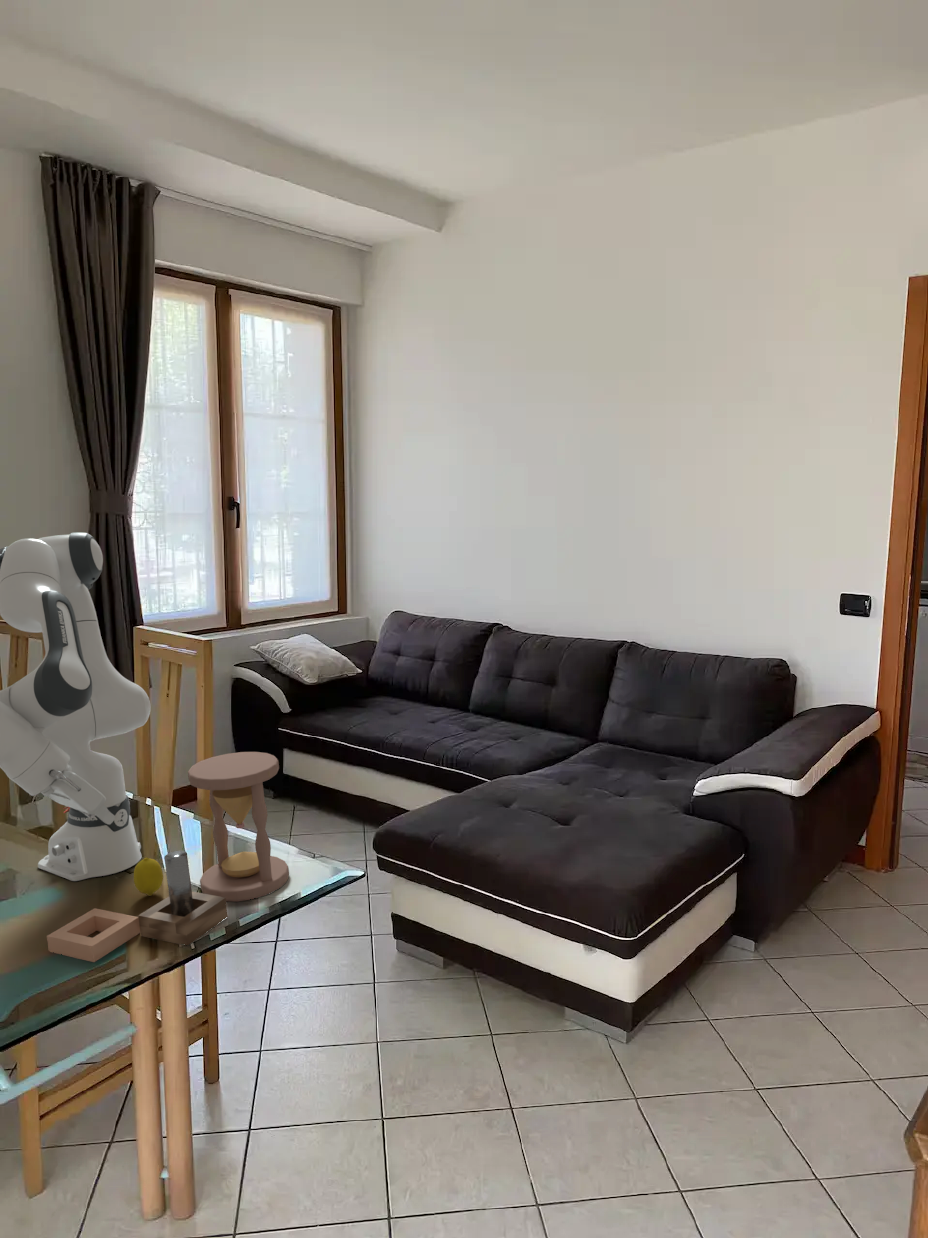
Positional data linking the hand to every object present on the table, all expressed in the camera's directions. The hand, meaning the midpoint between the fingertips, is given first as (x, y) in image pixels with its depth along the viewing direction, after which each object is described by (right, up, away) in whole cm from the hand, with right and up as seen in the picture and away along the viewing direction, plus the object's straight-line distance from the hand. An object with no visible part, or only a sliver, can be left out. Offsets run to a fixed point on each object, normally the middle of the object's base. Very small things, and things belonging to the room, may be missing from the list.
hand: (103, 818), depth 166 cm
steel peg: (+13, -19, +6) cm, 24 cm away
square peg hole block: (+13, -21, +6) cm, 26 cm away
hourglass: (+20, -18, +23) cm, 36 cm away
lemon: (+2, -20, +20) cm, 28 cm away
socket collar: (-2, -23, +2) cm, 23 cm away
